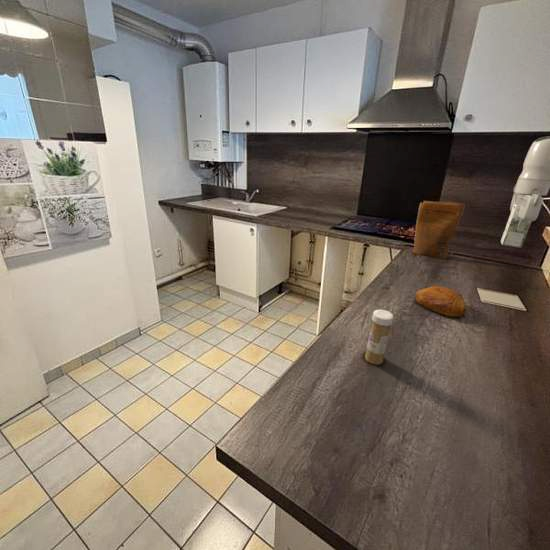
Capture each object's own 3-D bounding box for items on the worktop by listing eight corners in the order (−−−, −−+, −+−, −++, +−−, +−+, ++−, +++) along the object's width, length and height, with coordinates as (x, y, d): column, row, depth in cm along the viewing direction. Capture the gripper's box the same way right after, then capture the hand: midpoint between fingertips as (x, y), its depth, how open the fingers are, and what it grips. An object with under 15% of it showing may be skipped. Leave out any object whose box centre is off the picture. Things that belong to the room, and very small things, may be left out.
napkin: (516, 296, 110) (517, 295, 110) (526, 311, 99) (526, 310, 99) (476, 288, 115) (477, 287, 115) (481, 302, 105) (481, 301, 104)
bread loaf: (448, 328, 92) (459, 308, 88) (406, 301, 103) (414, 282, 99) (471, 315, 99) (482, 296, 95) (430, 291, 110) (437, 273, 106)
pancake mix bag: (449, 261, 144) (465, 204, 133) (408, 254, 153) (420, 199, 141) (449, 257, 149) (465, 202, 138) (410, 250, 158) (422, 198, 147)
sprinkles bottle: (360, 356, 75) (369, 310, 69) (374, 352, 76) (384, 307, 71) (373, 367, 71) (382, 320, 65) (387, 363, 73) (398, 316, 67)
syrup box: (518, 244, 107) (534, 204, 101) (521, 248, 102) (537, 206, 96) (500, 241, 110) (513, 202, 104) (501, 245, 105) (516, 204, 99)
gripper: (554, 192, 88) (536, 236, 94) (534, 186, 105) (520, 224, 111) (528, 190, 91) (512, 233, 96) (513, 185, 108) (500, 222, 113)
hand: (516, 228), depth 103 cm, fingers closed on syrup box, 6 cm apart
